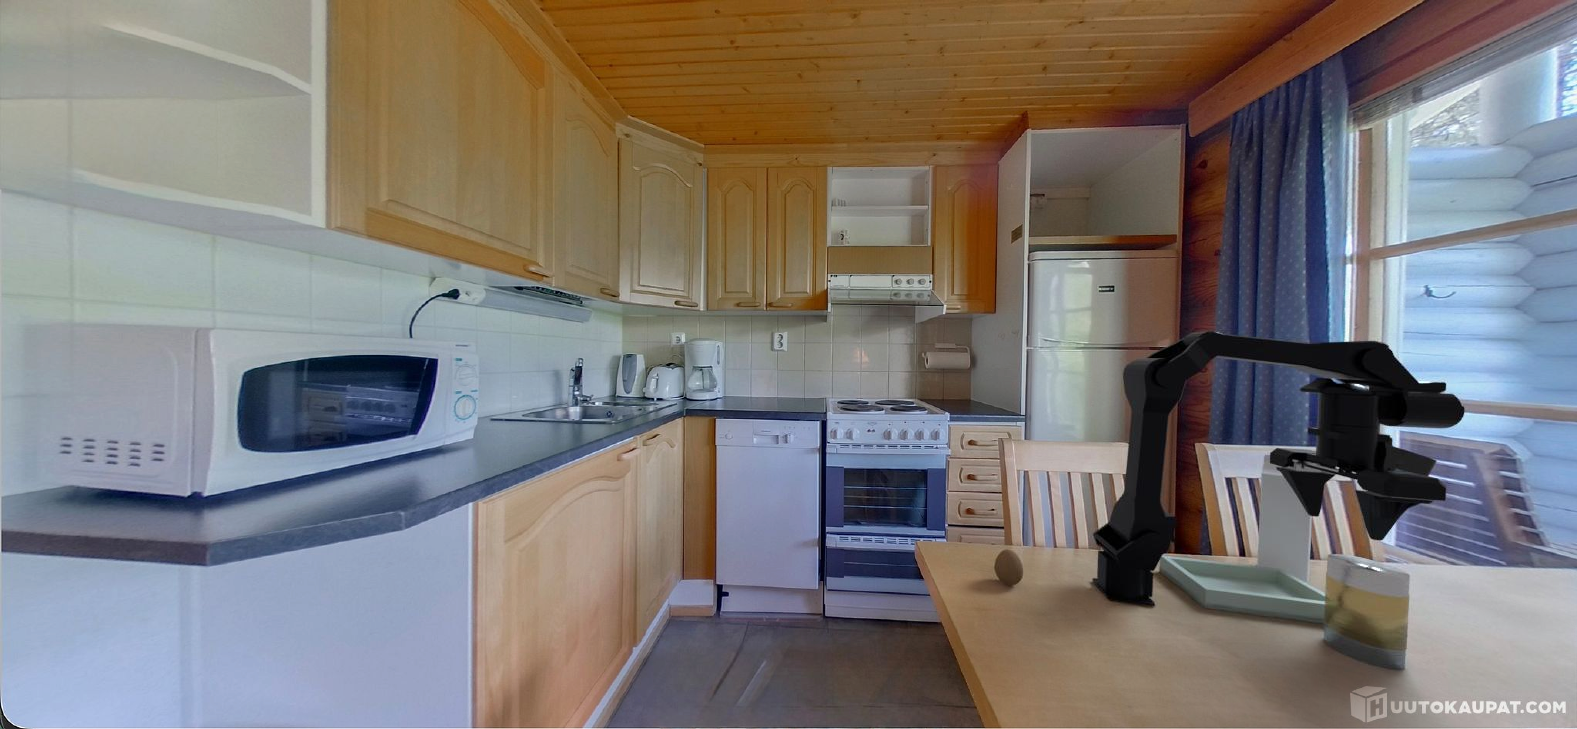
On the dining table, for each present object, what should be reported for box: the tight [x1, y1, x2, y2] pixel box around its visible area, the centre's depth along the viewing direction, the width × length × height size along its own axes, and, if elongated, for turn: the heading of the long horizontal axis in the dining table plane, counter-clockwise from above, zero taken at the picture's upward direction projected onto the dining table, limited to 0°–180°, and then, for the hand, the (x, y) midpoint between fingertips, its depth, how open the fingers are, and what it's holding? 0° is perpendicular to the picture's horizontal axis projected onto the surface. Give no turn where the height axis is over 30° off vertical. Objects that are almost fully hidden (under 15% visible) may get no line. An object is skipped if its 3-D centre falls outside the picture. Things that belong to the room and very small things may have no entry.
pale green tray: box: [1159, 554, 1325, 625], centre depth 71 cm, size 18×12×3 cm, turn 76°
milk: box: [1256, 454, 1313, 584], centre depth 79 cm, size 6×6×22 cm
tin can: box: [1323, 553, 1411, 671], centre depth 58 cm, size 7×7×12 cm
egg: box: [993, 548, 1024, 586], centre depth 74 cm, size 4×4×6 cm
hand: (1342, 527), depth 64 cm, fingers open, 9 cm apart
